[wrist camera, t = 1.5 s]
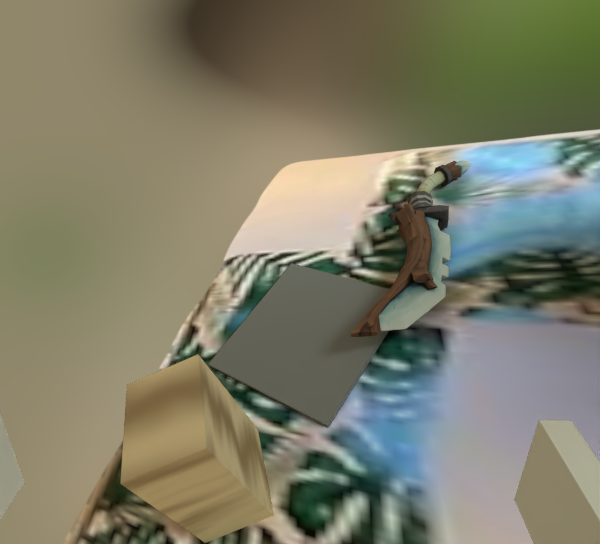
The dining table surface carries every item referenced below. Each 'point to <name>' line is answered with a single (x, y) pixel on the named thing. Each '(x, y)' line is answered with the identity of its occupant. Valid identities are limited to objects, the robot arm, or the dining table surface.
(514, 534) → the dining table surface
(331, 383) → the charcoal mat
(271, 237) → the dining table surface
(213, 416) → the beech block
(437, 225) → the decorative knife
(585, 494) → the robot arm
